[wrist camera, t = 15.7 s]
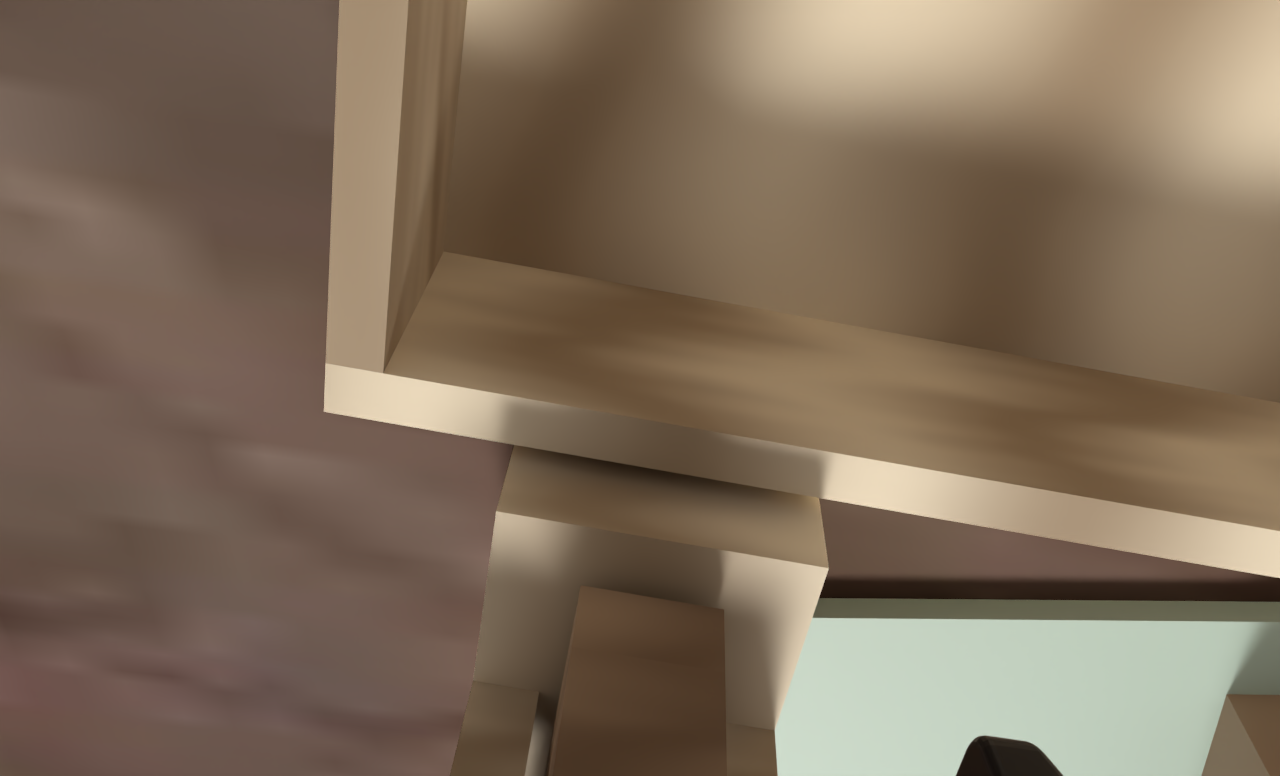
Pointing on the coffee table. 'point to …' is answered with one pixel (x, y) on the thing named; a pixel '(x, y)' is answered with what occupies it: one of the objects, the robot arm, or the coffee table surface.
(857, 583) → the coffee table surface
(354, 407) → the toolbox
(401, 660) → the coffee table surface
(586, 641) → the brown wooden block
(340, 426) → the coffee table surface
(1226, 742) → the lid
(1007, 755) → the robot arm
